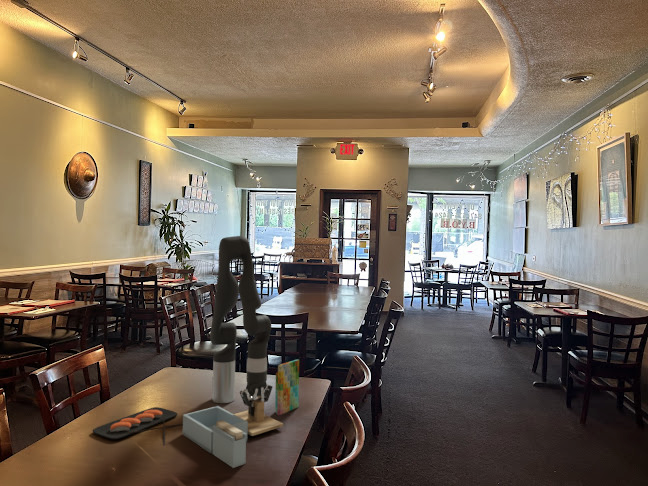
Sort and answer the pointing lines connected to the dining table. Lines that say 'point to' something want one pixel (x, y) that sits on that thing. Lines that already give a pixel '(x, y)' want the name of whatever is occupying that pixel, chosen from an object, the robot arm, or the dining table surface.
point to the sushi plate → (136, 423)
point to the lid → (259, 419)
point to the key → (230, 429)
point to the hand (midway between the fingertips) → (255, 414)
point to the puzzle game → (287, 387)
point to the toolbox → (217, 434)
